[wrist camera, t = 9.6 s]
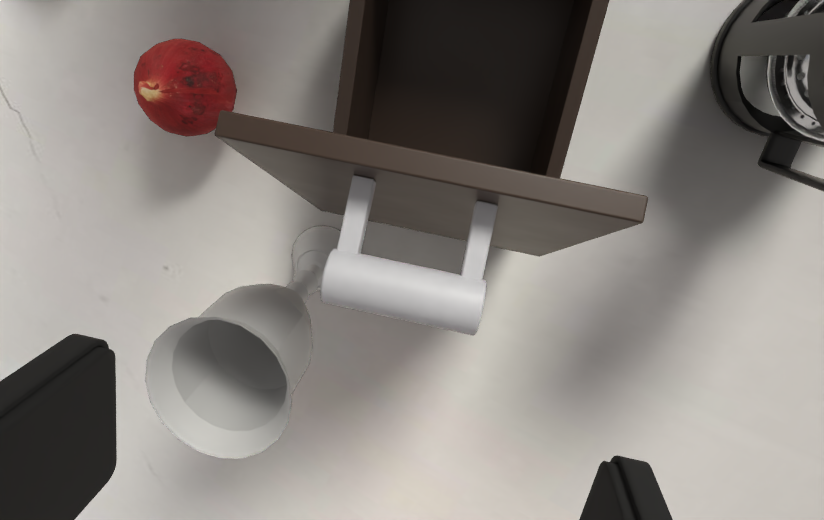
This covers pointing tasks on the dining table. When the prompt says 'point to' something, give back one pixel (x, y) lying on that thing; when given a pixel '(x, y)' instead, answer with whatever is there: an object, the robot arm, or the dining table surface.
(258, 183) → the dining table surface
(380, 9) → the dark brown wooden crate
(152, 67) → the red fruit
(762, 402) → the dining table surface
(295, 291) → the chalice
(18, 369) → the robot arm
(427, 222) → the wooden box lid
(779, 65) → the french press
